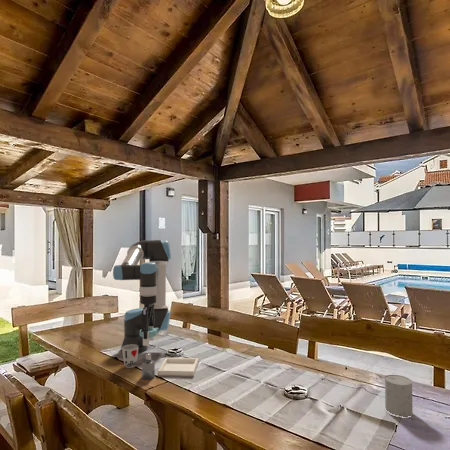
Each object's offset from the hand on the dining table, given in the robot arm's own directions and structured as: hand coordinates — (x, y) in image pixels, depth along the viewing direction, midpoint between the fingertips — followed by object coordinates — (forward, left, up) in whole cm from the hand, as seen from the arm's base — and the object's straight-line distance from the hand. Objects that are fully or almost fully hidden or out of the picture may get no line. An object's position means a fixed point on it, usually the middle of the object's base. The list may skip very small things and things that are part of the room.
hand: (148, 342), depth 170 cm
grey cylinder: (+28, +105, -17) cm, 110 cm away
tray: (-10, +13, -16) cm, 23 cm away
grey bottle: (0, 0, -16) cm, 16 cm away
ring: (0, 0, +4) cm, 4 cm away
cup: (-13, -13, -17) cm, 25 cm away
